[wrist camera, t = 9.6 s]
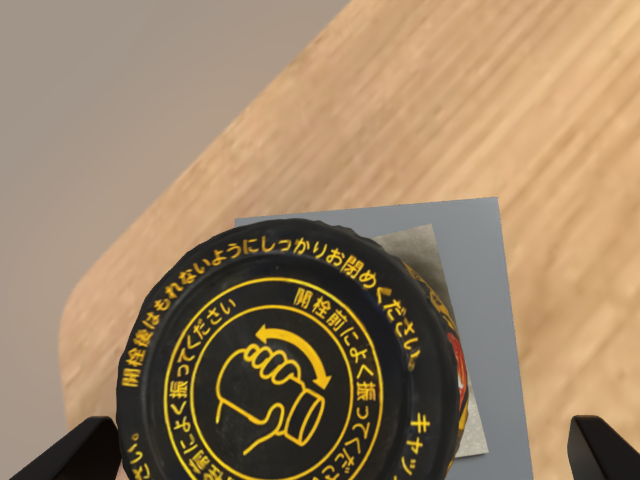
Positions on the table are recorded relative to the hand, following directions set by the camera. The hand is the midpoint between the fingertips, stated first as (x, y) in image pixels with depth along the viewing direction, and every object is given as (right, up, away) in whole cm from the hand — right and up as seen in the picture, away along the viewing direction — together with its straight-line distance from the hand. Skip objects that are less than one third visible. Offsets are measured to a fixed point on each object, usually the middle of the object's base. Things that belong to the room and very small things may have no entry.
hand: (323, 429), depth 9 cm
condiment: (+2, -1, +9) cm, 9 cm away
